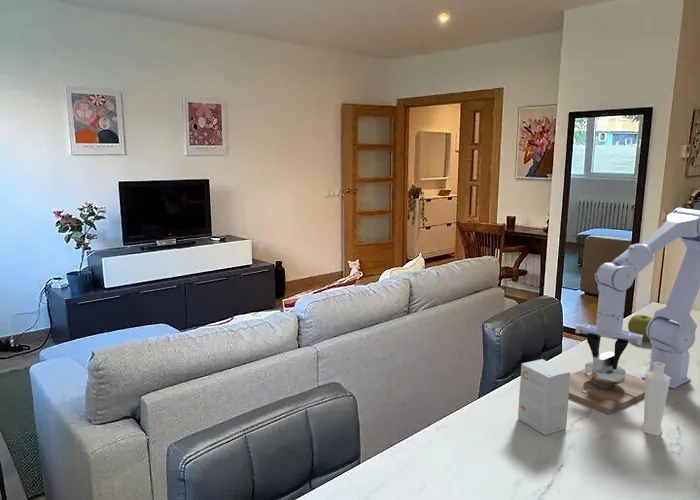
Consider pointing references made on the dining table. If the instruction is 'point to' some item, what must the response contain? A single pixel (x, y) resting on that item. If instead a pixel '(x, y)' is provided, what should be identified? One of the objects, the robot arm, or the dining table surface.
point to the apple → (639, 325)
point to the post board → (606, 392)
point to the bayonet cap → (604, 369)
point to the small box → (544, 396)
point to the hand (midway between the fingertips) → (605, 365)
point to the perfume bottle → (655, 398)
